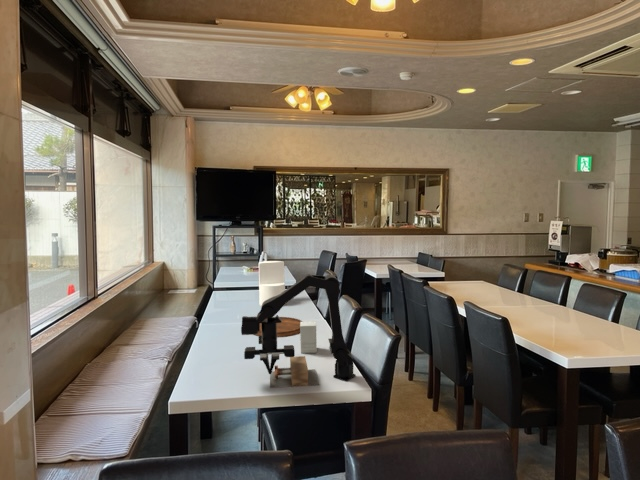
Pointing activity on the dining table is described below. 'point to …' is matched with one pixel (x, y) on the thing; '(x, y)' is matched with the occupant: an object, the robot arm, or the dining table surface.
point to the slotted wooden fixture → (295, 375)
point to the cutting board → (285, 327)
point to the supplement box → (308, 337)
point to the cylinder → (270, 280)
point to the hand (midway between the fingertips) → (270, 373)
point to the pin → (282, 371)
